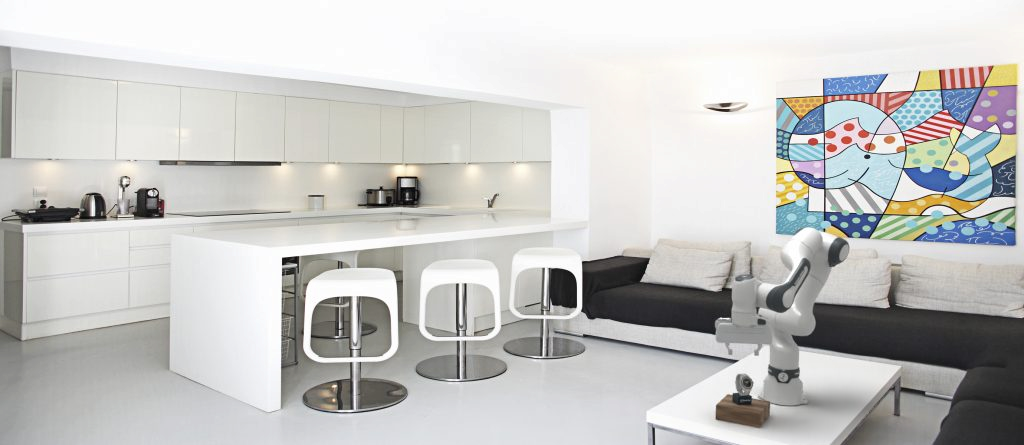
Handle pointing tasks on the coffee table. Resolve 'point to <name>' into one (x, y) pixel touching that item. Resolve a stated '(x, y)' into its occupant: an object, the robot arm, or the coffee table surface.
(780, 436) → the coffee table surface
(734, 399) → the watch
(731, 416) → the walnut box
